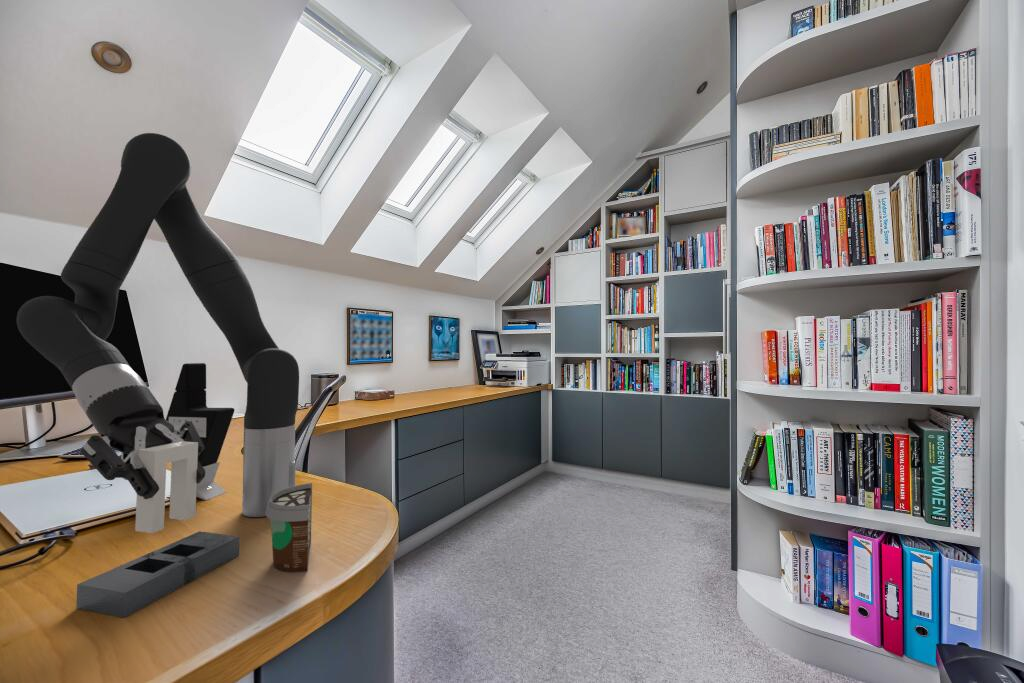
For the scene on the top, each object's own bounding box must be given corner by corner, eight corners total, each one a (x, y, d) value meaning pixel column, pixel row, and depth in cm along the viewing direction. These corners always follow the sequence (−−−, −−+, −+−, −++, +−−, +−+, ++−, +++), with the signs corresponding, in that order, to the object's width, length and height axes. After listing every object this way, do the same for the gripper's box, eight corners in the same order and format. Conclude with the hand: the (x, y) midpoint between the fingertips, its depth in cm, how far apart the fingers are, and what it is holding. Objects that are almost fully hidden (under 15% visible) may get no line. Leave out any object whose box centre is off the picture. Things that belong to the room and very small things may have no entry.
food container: (270, 547, 69) (271, 486, 69) (311, 540, 71) (312, 481, 71) (257, 585, 57) (259, 512, 58) (307, 575, 60) (308, 506, 60)
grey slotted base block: (198, 549, 68) (199, 531, 68) (238, 555, 66) (239, 536, 66) (76, 608, 52) (77, 584, 52) (124, 617, 50) (124, 592, 50)
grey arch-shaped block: (179, 514, 62) (182, 441, 63) (195, 516, 62) (198, 442, 62) (135, 530, 57) (138, 449, 57) (152, 533, 56) (155, 451, 56)
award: (155, 496, 93) (159, 363, 94) (178, 489, 98) (181, 362, 99) (214, 500, 90) (217, 363, 91) (234, 492, 96) (236, 363, 96)
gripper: (71, 387, 55) (136, 485, 51) (181, 381, 69) (237, 457, 65) (41, 425, 56) (103, 524, 52) (155, 411, 70) (209, 488, 66)
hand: (177, 486), depth 59 cm, fingers closed on grey arch-shaped block, 6 cm apart
